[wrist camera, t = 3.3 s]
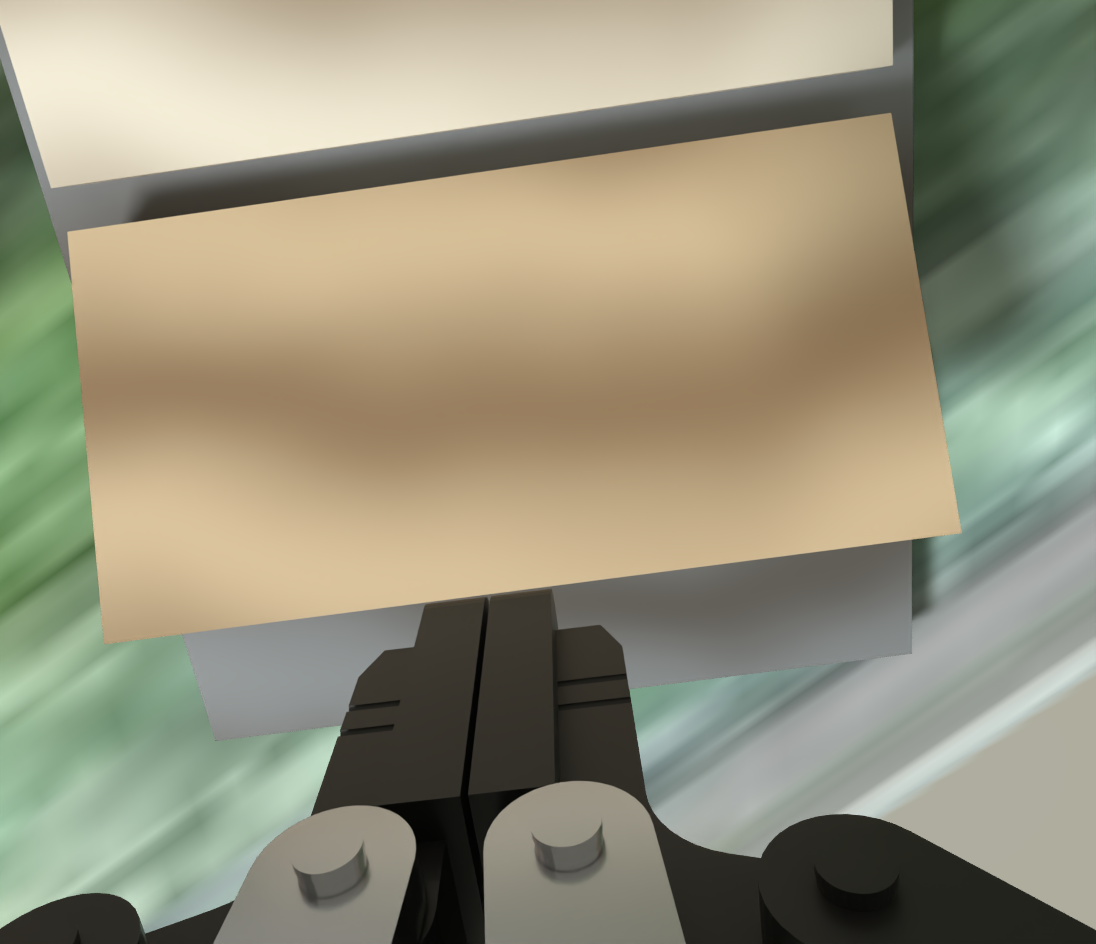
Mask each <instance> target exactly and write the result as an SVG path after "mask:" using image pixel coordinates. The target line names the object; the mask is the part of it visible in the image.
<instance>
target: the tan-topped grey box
mask: <svg viewBox="0 0 1096 944" xmlns="http://www.w3.org/2000/svg"><path fill="white" fill-rule="evenodd" d="M913 18H914V0H0V59H1V62H2V65H3V68H4V71H5V75H6V78H7V81H8V84H9V87H10V90H11V94H12V97H13V100H14V103H15V106H16V109H17V113H18V116H19V119H20V122H21V125H22V128H23V132H24V135H25V138H26V141H27V144H28V147H29V151H30V154H31V157H32V160H33V163H34V167H35V170H36V173H37V176H38V179H39V182H40V186H41V189H42V192H43V195H44V198H45V201H46V205H47V208H48V211H49V214H50V217H51V220H52V224H53V227H54V230H55V233H56V236H57V239H58V243H59V246H60V249H61V252H62V255H63V258H64V262H65V265H66V268H67V271H68V274H69V277H70V281H71V284H72V279H71V268H70V257H69V246H68V234H67V232H70V231H76V230H83V229H90V228H97V227H104V226H111V225H118V224H125V223H132V222H139V221H146V220H153V219H159V218H166V217H173V216H180V215H187V214H194V213H201V212H208V211H215V210H222V209H229V208H236V207H243V206H249V205H256V204H263V203H270V202H277V201H284V200H291V199H298V198H305V197H312V196H319V195H326V194H332V193H339V192H346V191H353V190H360V189H367V188H374V187H381V186H388V185H395V184H402V183H409V182H416V181H422V180H429V179H436V178H443V177H450V176H457V175H464V174H471V173H478V172H485V171H492V170H499V169H505V168H512V167H519V166H526V165H533V164H540V163H547V162H554V161H561V160H568V159H575V158H582V157H589V156H595V155H602V154H609V153H616V152H623V151H630V150H637V149H644V148H651V147H658V146H665V145H672V144H678V143H685V142H692V141H699V140H706V139H713V138H720V137H727V136H734V135H741V134H748V133H755V132H762V131H768V130H775V129H782V128H789V127H796V126H803V125H810V124H817V123H824V122H831V121H838V120H845V119H852V118H858V117H865V116H872V115H879V114H886V113H891V115H892V121H893V127H894V133H895V139H896V145H897V151H898V157H899V163H900V169H901V175H902V181H903V187H904V193H905V198H906V204H907V210H908V216H909V222H910V228H911V234H912V240H913ZM545 589H552V592H553V596H554V602H555V608H556V615H557V622H558V629H568V628H576V627H584V626H593V625H601V626H602V627H603V628H605V629H606V630H607V631H608V632H609V633H610V634H611V635H612V636H613V637H614V638H615V639H616V640H617V641H618V642H619V643H620V644H621V645H622V647H623V654H624V660H625V666H626V672H627V679H628V685H629V689H634V688H642V687H650V686H658V685H666V684H674V683H682V682H689V681H697V680H705V679H713V678H721V677H729V676H737V675H745V674H753V673H761V672H769V671H777V670H785V669H793V668H801V667H809V666H817V665H825V664H833V663H841V662H849V661H857V660H865V659H873V658H881V657H889V656H897V655H905V654H912V540H904V541H897V542H889V543H881V544H873V545H866V546H858V547H850V548H843V549H835V550H827V551H819V552H812V553H804V554H796V555H788V556H781V557H773V558H765V559H758V560H750V561H742V562H734V563H727V564H719V565H711V566H704V567H696V568H688V569H680V570H673V571H665V572H657V573H649V574H642V575H634V576H626V577H619V578H611V579H603V580H595V581H588V582H580V583H572V584H565V585H557V586H549V587H541V588H534V589H526V590H518V591H511V592H503V593H495V594H487V595H480V596H472V597H464V598H456V599H449V600H441V601H433V602H426V603H418V604H410V605H402V606H395V607H387V608H379V609H372V610H364V611H356V612H348V613H341V614H333V615H325V616H317V617H310V618H302V619H294V620H287V621H279V622H271V623H263V624H256V625H248V626H240V627H233V628H225V629H217V630H209V631H202V632H194V633H186V634H182V636H183V639H184V642H185V645H186V648H187V651H188V655H189V658H190V661H191V664H192V667H193V670H194V674H195V677H196V680H197V683H198V686H199V689H200V693H201V696H202V699H203V702H204V705H205V708H206V712H207V715H208V718H209V721H210V724H211V727H212V731H213V734H214V737H215V740H216V741H219V740H227V739H235V738H243V737H251V736H259V735H267V734H275V733H283V732H291V731H299V730H307V729H315V728H323V727H331V726H339V725H342V724H343V721H344V718H345V715H346V712H349V703H350V700H351V697H352V694H353V692H354V689H355V686H356V683H357V680H358V677H359V676H360V675H361V674H362V673H363V672H364V671H365V670H366V669H367V668H368V667H369V666H370V665H371V664H372V663H373V662H374V661H375V660H376V659H377V658H378V657H379V656H380V655H381V654H382V653H383V652H384V650H392V649H401V648H409V647H414V645H415V641H416V637H417V633H418V629H419V625H420V621H421V617H422V613H423V609H424V606H425V605H426V604H430V603H438V602H447V601H455V600H463V599H472V598H480V597H487V598H488V600H489V603H490V598H491V596H495V595H503V594H511V593H520V592H528V591H536V590H545Z"/></svg>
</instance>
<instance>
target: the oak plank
mask: <svg viewBox="0 0 1096 944" xmlns="http://www.w3.org/2000/svg"><path fill="white" fill-rule="evenodd" d="M67 234H68V246H69V257H70V268H71V279H72V291H73V302H74V313H75V324H76V335H77V347H78V358H79V369H80V380H81V392H82V403H83V414H84V425H85V436H86V448H87V459H88V470H89V481H90V493H91V504H92V515H93V526H94V538H95V549H96V560H97V571H98V582H99V594H100V605H101V616H102V627H103V639H104V644H109V643H117V642H124V641H132V640H140V639H148V638H155V637H163V636H171V635H178V634H186V633H194V632H202V631H209V630H217V629H225V628H233V627H240V626H248V625H256V624H263V623H271V622H279V621H287V620H294V619H302V618H310V617H317V616H325V615H333V614H341V613H348V612H356V611H364V610H372V609H379V608H387V607H395V606H402V605H410V604H418V603H426V602H433V601H441V600H449V599H456V598H464V597H472V596H480V595H487V594H495V593H503V592H511V591H518V590H526V589H534V588H541V587H549V586H557V585H565V584H572V583H580V582H588V581H595V580H603V579H611V578H619V577H626V576H634V575H642V574H649V573H657V572H665V571H673V570H680V569H688V568H696V567H704V566H711V565H719V564H727V563H734V562H742V561H750V560H758V559H765V558H773V557H781V556H788V555H796V554H804V553H812V552H819V551H827V550H835V549H843V548H850V547H858V546H866V545H873V544H881V543H889V542H897V541H904V540H912V539H920V538H927V537H935V536H943V535H951V534H958V533H961V527H960V521H959V515H958V509H957V503H956V497H955V491H954V485H953V479H952V473H951V467H950V461H949V455H948V449H947V443H946V437H945V431H944V425H943V419H942V413H941V407H940V401H939V395H938V389H937V383H936V378H935V372H934V366H933V360H932V354H931V348H930V342H929V336H928V330H927V324H926V318H925V312H924V306H923V300H922V294H921V288H920V282H919V276H918V270H917V264H916V258H915V252H914V246H913V240H912V234H911V228H910V222H909V216H908V210H907V204H906V198H905V193H904V187H903V181H902V175H901V169H900V163H899V157H898V151H897V145H896V139H895V133H894V127H893V121H892V115H891V113H886V114H879V115H872V116H865V117H858V118H852V119H845V120H838V121H831V122H824V123H817V124H810V125H803V126H796V127H789V128H782V129H775V130H768V131H762V132H755V133H748V134H741V135H734V136H727V137H720V138H713V139H706V140H699V141H692V142H685V143H678V144H672V145H665V146H658V147H651V148H644V149H637V150H630V151H623V152H616V153H609V154H602V155H595V156H589V157H582V158H575V159H568V160H561V161H554V162H547V163H540V164H533V165H526V166H519V167H512V168H505V169H499V170H492V171H485V172H478V173H471V174H464V175H457V176H450V177H443V178H436V179H429V180H422V181H416V182H409V183H402V184H395V185H388V186H381V187H374V188H367V189H360V190H353V191H346V192H339V193H332V194H326V195H319V196H312V197H305V198H298V199H291V200H284V201H277V202H270V203H263V204H256V205H249V206H243V207H236V208H229V209H222V210H215V211H208V212H201V213H194V214H187V215H180V216H173V217H166V218H159V219H153V220H146V221H139V222H132V223H125V224H118V225H111V226H104V227H97V228H90V229H83V230H76V231H70V232H67Z"/></svg>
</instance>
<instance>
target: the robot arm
mask: <svg viewBox="0 0 1096 944" xmlns="http://www.w3.org/2000/svg"><path fill="white" fill-rule="evenodd" d="M340 732H341V736H340V737H338V738H337V741H336V744H335V747H334V750H333V753H332V756H331V759H330V761H329V764H328V767H327V770H326V773H325V776H324V779H323V782H322V785H321V788H320V791H319V793H318V796H317V799H316V802H315V805H314V808H313V811H312V814H311V816H310V817H308V818H306V819H304V820H302V821H300V822H298V823H296V824H295V825H293V826H291V827H290V828H288V829H286V830H285V831H284V832H282V833H281V834H280V835H278V836H277V837H276V838H275V839H274V840H273V841H272V842H270V843H269V844H268V845H267V846H266V847H265V848H264V850H263V851H262V852H261V853H260V854H259V856H258V857H257V858H256V860H255V862H254V863H253V865H252V867H251V868H250V870H249V872H248V874H247V876H246V878H245V880H244V882H243V884H242V886H241V888H240V890H239V892H238V894H237V896H236V899H235V900H234V901H232V902H230V903H228V904H225V905H223V906H221V907H218V908H216V909H213V910H211V911H208V912H205V913H202V914H199V915H197V916H194V917H191V918H188V919H185V920H183V921H180V922H177V923H174V924H171V925H169V926H166V927H163V928H160V929H157V930H155V931H152V932H149V933H146V934H145V932H144V929H143V927H142V924H141V921H140V918H139V916H138V914H137V912H136V909H135V908H134V907H133V906H132V905H131V904H130V903H129V902H128V901H126V900H124V899H123V898H121V897H118V896H115V895H111V894H103V893H90V894H80V895H75V896H70V897H66V898H63V899H60V900H56V901H53V902H50V903H48V904H45V905H43V906H41V907H38V908H36V909H34V910H32V911H30V912H28V913H26V914H24V915H22V916H20V917H18V918H17V919H15V920H14V921H12V922H10V923H9V924H7V925H5V926H4V927H2V928H1V929H0V944H1096V930H1094V929H1093V928H1091V927H1089V926H1087V925H1085V924H1083V923H1081V922H1079V921H1078V920H1076V919H1074V918H1072V917H1070V916H1068V915H1066V914H1065V913H1063V912H1061V911H1059V910H1057V909H1055V908H1053V907H1051V906H1050V905H1048V904H1046V903H1044V902H1042V901H1040V900H1038V899H1036V898H1035V897H1033V896H1031V895H1029V894H1027V893H1025V892H1023V891H1021V890H1019V889H1018V888H1016V887H1014V886H1012V885H1010V884H1008V883H1006V882H1005V881H1002V880H1001V879H999V878H997V877H995V876H993V875H991V874H990V873H988V872H986V871H984V870H982V869H980V868H978V867H976V866H975V865H973V864H970V863H969V862H967V861H965V860H963V859H961V858H959V857H958V856H956V855H954V854H952V853H950V852H948V851H946V850H944V849H943V848H941V847H939V846H937V845H935V844H933V843H931V842H929V841H928V840H926V839H924V838H922V837H920V836H918V835H916V834H914V833H912V832H911V831H909V830H906V829H904V828H902V827H900V826H898V825H895V824H893V823H890V822H887V821H884V820H881V819H877V818H872V817H867V816H861V815H850V814H836V815H825V816H818V817H814V818H810V819H807V820H803V821H801V822H798V823H796V824H794V825H792V826H790V827H788V828H787V829H785V830H784V831H782V832H781V833H779V834H778V835H777V836H776V837H775V838H774V839H773V840H772V841H771V842H770V843H769V845H768V846H767V848H766V849H765V851H764V852H763V854H762V857H761V858H756V857H749V856H742V855H735V854H729V853H724V852H719V851H714V850H710V849H707V848H704V847H701V846H698V845H695V844H693V843H691V842H689V841H687V840H685V839H683V838H681V837H680V836H678V835H676V834H675V833H673V832H672V831H670V830H669V829H668V828H667V827H666V826H665V825H664V824H663V823H661V821H660V820H659V819H658V818H657V816H656V815H655V814H654V812H653V811H652V809H651V807H650V805H649V803H648V799H647V796H646V791H645V785H644V779H643V772H642V766H641V760H640V754H639V747H638V741H637V735H636V729H635V722H634V716H633V710H632V704H631V698H630V691H629V685H628V679H627V672H626V666H625V660H624V654H623V647H622V645H621V644H620V643H619V642H618V641H617V640H616V639H615V638H614V637H613V636H612V635H611V634H610V633H609V632H608V631H607V630H606V629H605V628H603V627H602V626H601V625H593V626H584V627H576V628H568V629H558V622H557V615H556V608H555V602H554V596H553V592H552V589H545V590H536V591H528V592H520V593H511V594H503V595H495V596H491V598H490V603H489V600H488V598H487V597H480V598H472V599H463V600H455V601H447V602H438V603H430V604H426V605H425V606H424V609H423V613H422V617H421V621H420V625H419V629H418V633H417V637H416V641H415V645H414V647H409V648H401V649H392V650H384V652H383V653H382V654H381V655H380V656H379V657H378V658H377V659H376V660H375V661H374V662H373V663H372V664H371V665H370V666H369V667H368V668H367V669H366V670H365V671H364V672H363V673H362V674H361V675H360V676H359V677H358V680H357V683H356V686H355V689H354V692H353V694H352V697H351V700H350V703H349V712H346V715H345V718H344V721H343V724H342V726H341V729H340Z"/></svg>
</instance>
